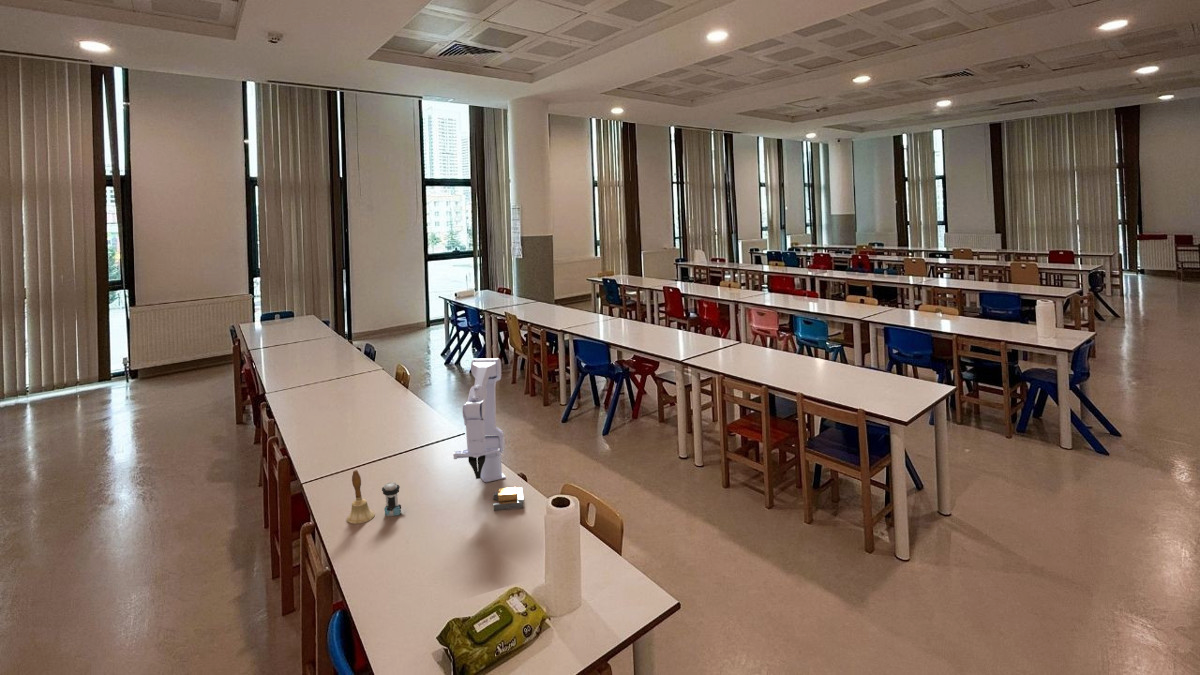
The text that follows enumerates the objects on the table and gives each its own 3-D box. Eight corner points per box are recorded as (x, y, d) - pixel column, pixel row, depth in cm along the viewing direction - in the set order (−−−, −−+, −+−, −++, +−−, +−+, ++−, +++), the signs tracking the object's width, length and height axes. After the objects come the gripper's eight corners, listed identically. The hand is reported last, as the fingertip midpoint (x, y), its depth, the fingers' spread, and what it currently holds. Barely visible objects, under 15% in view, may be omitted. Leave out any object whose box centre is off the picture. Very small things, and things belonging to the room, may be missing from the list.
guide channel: (493, 510, 195) (493, 502, 194) (493, 498, 203) (493, 490, 203) (523, 507, 196) (523, 499, 196) (522, 495, 205) (522, 487, 204)
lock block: (499, 508, 197) (498, 495, 196) (498, 501, 202) (498, 488, 201) (517, 506, 198) (517, 493, 197) (516, 499, 203) (516, 487, 202)
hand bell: (365, 525, 187) (360, 476, 184) (341, 523, 189) (336, 475, 186) (379, 512, 195) (375, 466, 192) (356, 510, 197) (351, 464, 194)
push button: (408, 509, 196) (405, 481, 195) (403, 517, 191) (400, 488, 189) (387, 510, 196) (384, 481, 195) (381, 518, 191) (379, 488, 189)
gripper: (451, 444, 189) (454, 484, 191) (498, 440, 191) (501, 480, 194) (453, 436, 195) (455, 475, 198) (498, 432, 198) (500, 471, 200)
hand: (478, 477), depth 196 cm, fingers closed
